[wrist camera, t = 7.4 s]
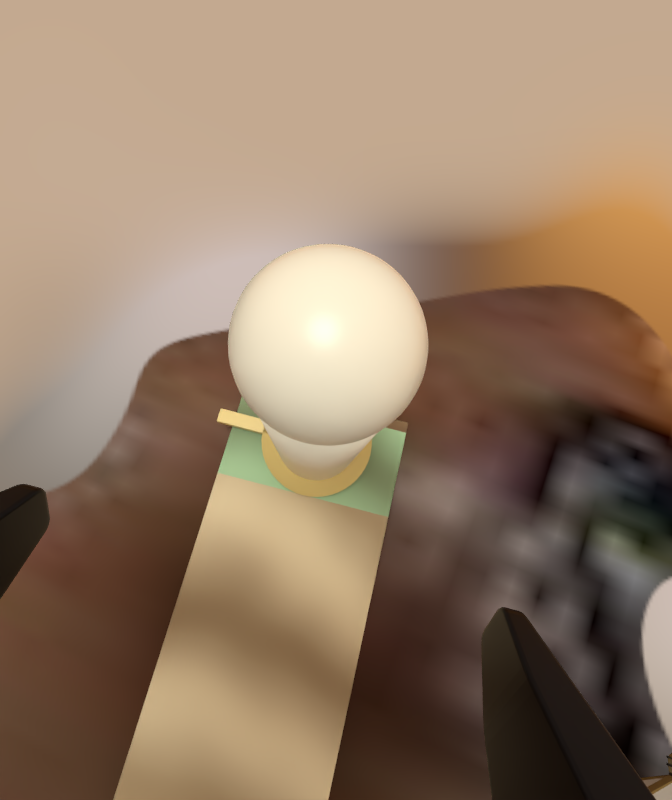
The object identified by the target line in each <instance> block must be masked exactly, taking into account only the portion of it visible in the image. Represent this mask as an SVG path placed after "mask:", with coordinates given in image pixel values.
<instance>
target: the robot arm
mask: <svg viewBox="0 0 672 800" xmlns="http://www.w3.org/2000/svg"><path fill="white" fill-rule="evenodd" d="M49 520H50V516H49V510H48V503H47V497H46V492H45V491H44V490H43V489H42V488H39V487H35V486H31V485H27V484H20V485H16V486H14V487H11V488H9V489H6V490H4V491H1V492H0V599H1V597H2V596H3V594H4V593H5V591H6V590H7V588H8V587H9V585H10V584H11V582H12V581H13V579H14V578H15V576H16V575H17V574H18V572H19V571H20V569H21V568H22V566H23V565H24V563H25V562H26V560H27V559H28V557H29V556H30V554H31V553H32V551H33V550H34V548H35V547H36V545H37V544H38V542H39V541H40V539H41V538H42V536H43V535H44V533H45V531H46V530H47V528H48V525H49ZM481 645H482V685H483V721H484V735H485V745H486V754H487V762H488V770H489V778H490V786H491V794H492V800H656V798H655V797H654V796H653V794H652V793H651V791H650V790H649V789H648V787H647V786H646V784H645V783H644V782H643V780H642V779H641V777H640V776H639V775H638V773H637V772H636V770H635V769H634V767H633V766H632V765H631V763H630V762H629V760H628V759H627V758H626V756H625V755H624V753H623V752H622V751H621V749H620V748H619V746H618V745H617V744H616V742H615V741H614V739H613V738H612V737H611V735H610V734H609V732H608V731H607V730H606V728H605V727H604V725H603V724H602V723H601V721H600V720H599V718H598V717H597V715H596V714H595V713H594V711H593V710H592V708H591V707H590V706H589V704H588V703H587V701H586V700H585V699H584V697H583V696H582V694H581V693H580V692H579V690H578V689H577V687H576V686H575V685H574V683H573V682H572V680H571V679H570V678H569V676H568V675H567V673H566V672H565V671H564V669H563V668H562V666H561V665H560V663H559V662H558V661H557V659H556V658H555V656H554V655H553V654H552V652H551V651H550V649H549V648H548V647H547V645H546V644H545V642H544V641H543V640H542V638H541V637H540V635H539V634H538V633H537V631H536V630H535V628H534V627H533V626H532V624H531V623H530V621H529V620H528V619H527V617H526V616H525V615H524V614H523V613H522V612H520V611H517V610H513V609H509V608H505V607H502V608H500V609H498V610H497V612H496V613H495V615H494V616H493V618H492V619H491V621H490V622H489V624H488V625H487V627H486V628H485V630H484V632H483V635H482V644H481Z"/></svg>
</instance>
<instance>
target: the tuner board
mask: <svg viewBox="0 0 672 800" xmlns="http://www.w3.org/2000/svg"><path fill="white" fill-rule="evenodd" d="M237 413H241V414H244V415H248V416H252V417H256V418H259V417H258V416H257V415H256V414H255V413H254V412H253V410H252V409H251V408H250V407H249V406H248V404H247V403H246V401H245V400H244V398H243V397H242V398H241V401H240V405H239V408H238V411H237ZM407 426H408V423H407V422H403V421H399V420H394V421H393V422H392V423H391V424H390V425H388V426H387V427H385V428H384V429H382V430H381V431H379V432H378V433H377V434H376V435H375V436H374V437H373V438H372V448H371V454H370V458H369V461H368V463H367V465H366V468H365V469H364V471H363V472H362V474H361V475H360V476H359V477H358V479H357V480H356V481H355V482H354V483H352V484H351V485H350V486H348V487H347V488H346V489H344V490H342V491H340V492H338V493H335V494H333V495H329V496H324V497H309V496H304V495H300V494H297V493H295V492H293V491H291V490H289V489H287V488H286V487H284V486H283V485H282V484H281V483H280V482H279V481H277V479H276V478H275V477H274V476H273V475H272V473H271V472H270V470H269V469H268V467H267V465H266V462H265V460H264V457H263V452H262V442H261V440H262V434H259V433H255V432H252V431H248V430H244V429H240V428H236V427H232V430H231V433H230V436H229V439H228V442H227V445H226V448H225V452H224V455H223V458H222V461H221V464H220V467H219V470H218V473H217V477H216V480H215V483H214V486H213V489H212V492H211V495H210V499H209V502H208V505H207V508H206V511H205V514H204V517H203V520H202V524H201V527H200V530H199V533H198V536H197V539H196V542H195V546H194V549H193V552H192V555H191V558H190V561H189V564H188V567H187V571H186V574H185V577H184V580H183V583H182V586H181V589H180V593H179V596H178V599H177V602H176V605H175V608H174V611H173V614H172V618H171V621H170V624H169V627H168V630H167V633H166V636H165V640H164V643H163V646H162V649H161V652H160V655H159V658H158V661H157V665H156V668H155V671H154V674H153V677H152V680H151V683H150V687H149V690H148V693H147V696H146V699H145V702H144V705H143V708H142V712H141V715H140V718H139V721H138V724H137V727H136V730H135V734H134V737H133V740H132V743H131V746H130V749H129V752H128V755H127V759H126V762H125V765H124V768H123V771H122V774H121V777H120V781H119V784H118V787H117V790H116V793H115V796H114V799H113V800H328V798H329V794H330V789H331V784H332V779H333V775H334V770H335V765H336V761H337V756H338V751H339V746H340V742H341V737H342V732H343V728H344V723H345V718H346V714H347V709H348V704H349V699H350V695H351V690H352V685H353V681H354V676H355V671H356V666H357V662H358V657H359V652H360V648H361V643H362V638H363V633H364V629H365V624H366V619H367V615H368V610H369V605H370V601H371V596H372V591H373V586H374V582H375V577H376V572H377V568H378V563H379V558H380V553H381V549H382V544H383V539H384V535H385V530H386V525H387V520H388V516H389V511H390V506H391V502H392V497H393V492H394V488H395V483H396V478H397V473H398V469H399V464H400V459H401V455H402V450H403V445H404V440H405V436H406V431H407Z"/></svg>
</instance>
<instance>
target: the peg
mask: <svg viewBox="0 0 672 800" xmlns="http://www.w3.org/2000/svg"><path fill="white" fill-rule="evenodd" d="M228 356H229V362H230V367H231V370H232V374H233V377H234V380H235V383H236V385H237V387H238V389H239V391H240V394H241V395H242V397H243V398H244V400H245V401H246V403H247V404H248V406H249V407H250V408H251V409H252V410H253V412H254V413H255V414H256V415H257V416H258V417H259V418H256V417H252V416H248V415H244V414H241V413H237V412H233V411H229V410H225V409H221V410H220V413H219V416H218V419H217V422H218V423H221V424H225V425H228V426H232V427H236V428H240V429H244V430H248V431H252V432H255V433H259V434H262V440H261V442H262V452H263V457H264V460H265V462H266V465H267V467H268V469H269V470H270V472H271V473H272V475H273V476H274V477H275V478H276V479H277V481H279V482H280V483H281V484H282V485H283V486H284V487H286V488H287V489H289V490H291V491H293V492H295V493H297V494H300V495H304V496H309V497H324V496H329V495H333V494H335V493H338V492H340V491H342V490H344V489H346V488H347V487H348V486H350V485H351V484H352V483H354V482H355V481H356V480H357V479H358V477H359V476H360V475H361V474H362V472H363V471H364V469H365V468H366V465H367V463H368V461H369V458H370V454H371V448H372V438H373V437H374V436H375V435H376V434H377V433H378V432H379V431H381V430H382V429H384V428H385V427H387V426H388V425H390V424H391V423H392V422H393V421H394V420H395V419H397V418H398V417H399V416H400V415H401V414H402V412H403V411H404V410H405V409H406V408H407V406H408V405H409V404H410V402H411V400H412V399H413V397H414V396H415V394H416V392H417V391H418V388H419V386H420V384H421V382H422V379H423V375H424V372H425V368H426V363H427V356H428V334H427V327H426V321H425V318H424V314H423V311H422V308H421V306H420V304H419V301H418V299H417V298H416V296H415V294H414V293H413V291H412V289H411V288H410V286H409V285H408V284H407V282H406V281H405V280H404V278H403V277H402V276H401V275H400V274H399V273H398V272H397V271H396V270H395V269H394V268H392V267H391V266H390V265H389V264H387V263H386V262H384V261H383V260H381V259H380V258H378V257H376V256H374V255H373V254H370V253H368V252H366V251H363V250H360V249H357V248H354V247H350V246H345V245H338V244H317V245H311V246H305V247H302V248H298V249H295V250H292V251H290V252H287V253H285V254H283V255H281V256H279V257H278V258H276V259H274V260H273V261H272V262H270V263H269V264H267V265H266V266H265V267H264V268H263V269H261V270H260V271H259V272H258V273H257V274H256V275H255V276H254V277H253V278H252V280H251V281H250V282H249V283H248V285H247V286H246V287H245V289H244V291H243V292H242V294H241V296H240V298H239V300H238V302H237V304H236V307H235V309H234V311H233V314H232V318H231V322H230V327H229V335H228Z"/></svg>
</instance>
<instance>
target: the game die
mask: <svg viewBox="0 0 672 800" xmlns="http://www.w3.org/2000/svg"><path fill="white" fill-rule="evenodd" d="M667 758H668V763H667V765H668V767H669V775H663V776H654V777H645V778H641V779H642V780H643V782H644V783H645V784H646V786H647V787H648V789H649V790H650V791H651V793H652V794H653V796H654V797H655V798H656V800H672V753H671V754H670V755H669V756H667Z"/></svg>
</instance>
